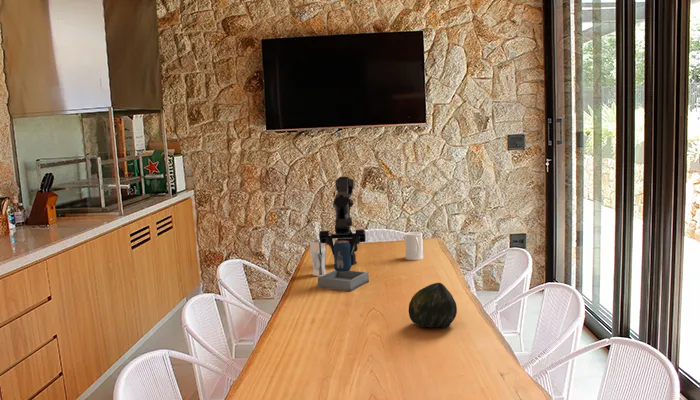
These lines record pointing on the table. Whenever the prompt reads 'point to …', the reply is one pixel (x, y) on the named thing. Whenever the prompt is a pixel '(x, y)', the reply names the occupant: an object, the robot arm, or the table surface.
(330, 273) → the open box
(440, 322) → the squash
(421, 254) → the mug
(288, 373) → the table surface
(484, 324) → the table surface
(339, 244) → the soda can
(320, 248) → the beer glass
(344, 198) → the robot arm
